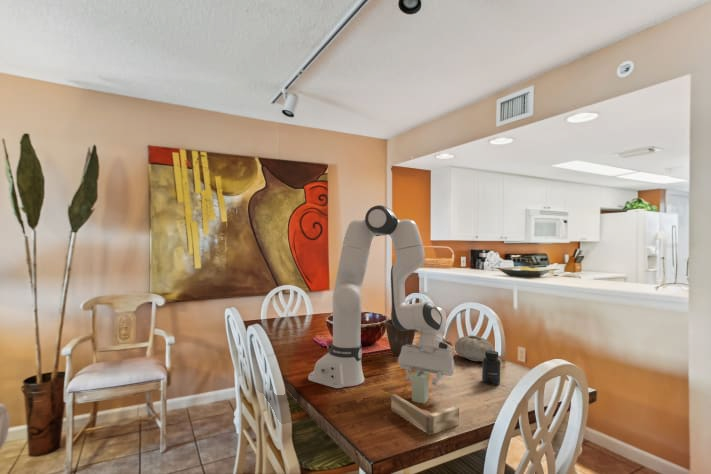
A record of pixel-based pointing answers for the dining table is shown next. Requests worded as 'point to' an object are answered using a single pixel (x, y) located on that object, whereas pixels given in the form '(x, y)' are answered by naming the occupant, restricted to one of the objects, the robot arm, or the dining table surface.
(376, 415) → the dining table surface
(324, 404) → the dining table surface
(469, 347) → the decorative shell
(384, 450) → the dining table surface
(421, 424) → the corner bracket
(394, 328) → the plant pot
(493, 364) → the supplement bottle
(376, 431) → the dining table surface
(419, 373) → the sage block
